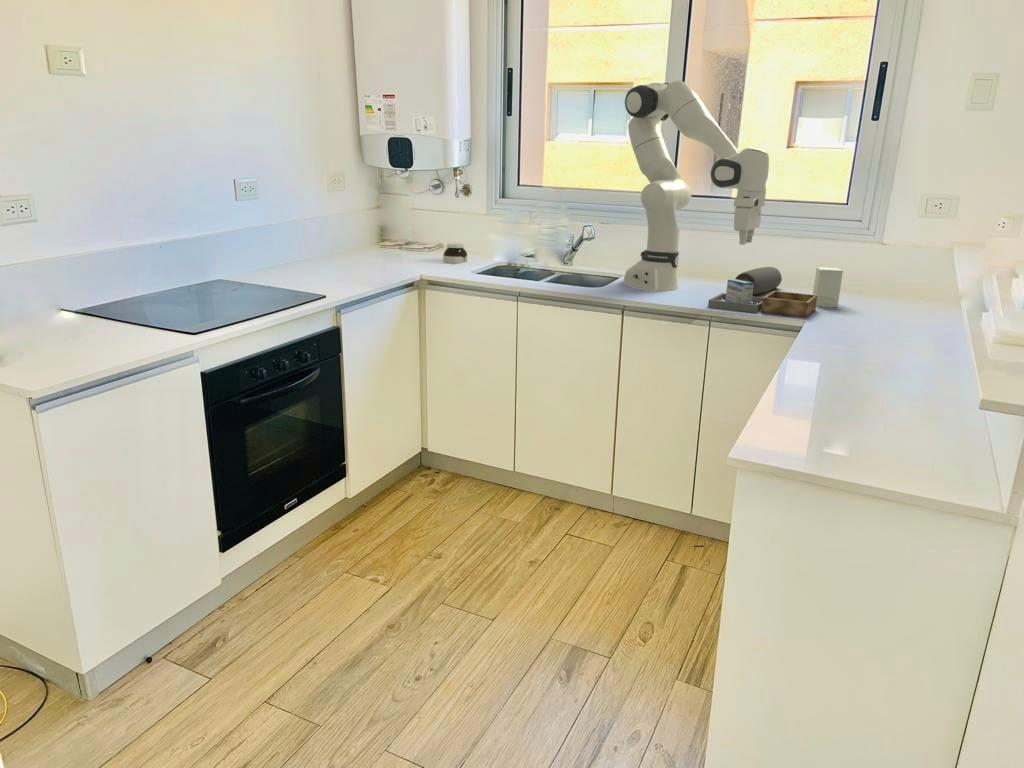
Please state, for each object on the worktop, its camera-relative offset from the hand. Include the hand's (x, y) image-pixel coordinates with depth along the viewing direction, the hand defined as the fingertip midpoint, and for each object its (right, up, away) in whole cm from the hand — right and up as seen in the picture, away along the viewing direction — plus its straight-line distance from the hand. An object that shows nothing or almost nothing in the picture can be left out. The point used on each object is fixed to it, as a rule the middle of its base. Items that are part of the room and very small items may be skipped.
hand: (745, 243), depth 247 cm
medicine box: (-1, -20, +6) cm, 21 cm away
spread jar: (-101, 0, +66) cm, 121 cm away
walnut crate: (+14, -22, 0) cm, 26 cm away
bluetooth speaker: (+12, -14, +27) cm, 33 cm away
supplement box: (+31, -19, +12) cm, 38 cm away
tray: (0, -20, +6) cm, 21 cm away
